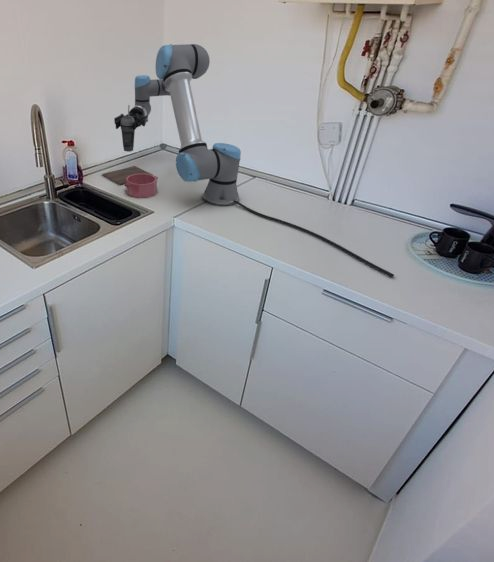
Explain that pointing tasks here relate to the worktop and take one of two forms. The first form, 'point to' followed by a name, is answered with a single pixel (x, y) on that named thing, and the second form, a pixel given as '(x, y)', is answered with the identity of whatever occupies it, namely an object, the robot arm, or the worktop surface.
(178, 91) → the robot arm
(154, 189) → the pot
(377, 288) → the worktop surface
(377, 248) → the worktop surface
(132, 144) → the beverage cup
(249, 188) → the worktop surface
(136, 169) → the board
